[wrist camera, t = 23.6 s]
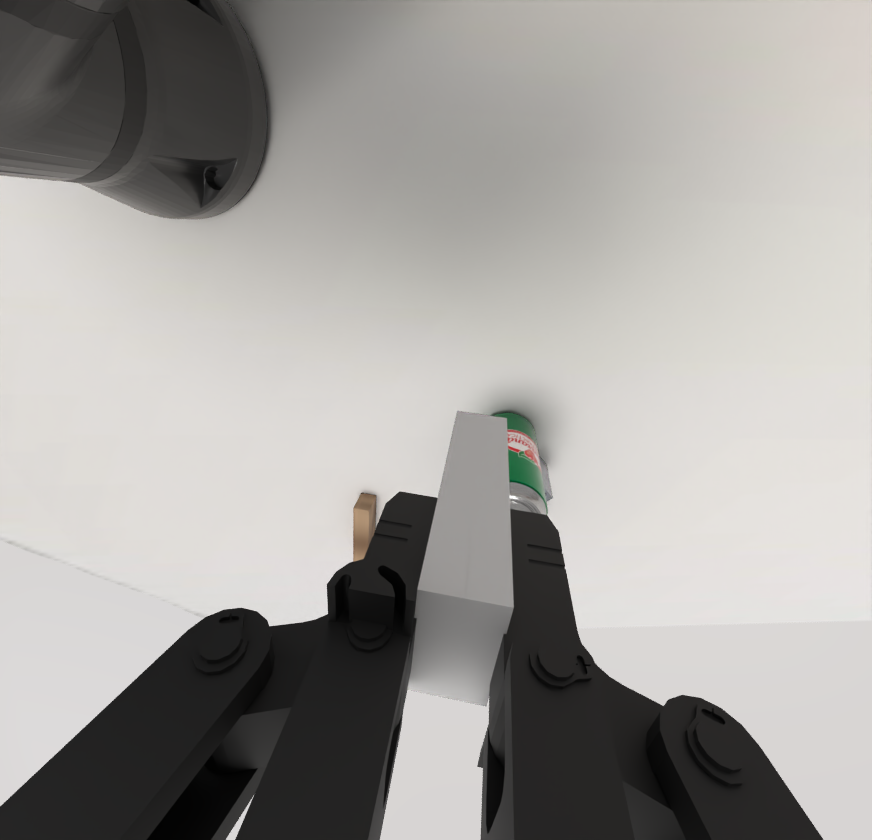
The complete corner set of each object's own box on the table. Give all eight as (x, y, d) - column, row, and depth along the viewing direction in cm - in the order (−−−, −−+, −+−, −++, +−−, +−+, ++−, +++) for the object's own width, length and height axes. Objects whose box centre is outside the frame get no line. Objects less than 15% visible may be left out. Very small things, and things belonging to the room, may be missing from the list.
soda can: (547, 434, 36) (566, 524, 25) (507, 468, 38) (509, 563, 27) (506, 398, 35) (508, 475, 24) (467, 435, 37) (453, 520, 26)
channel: (361, 493, 42) (353, 508, 39) (486, 514, 40) (485, 531, 38) (360, 549, 45) (353, 566, 43) (475, 570, 44) (474, 589, 42)
